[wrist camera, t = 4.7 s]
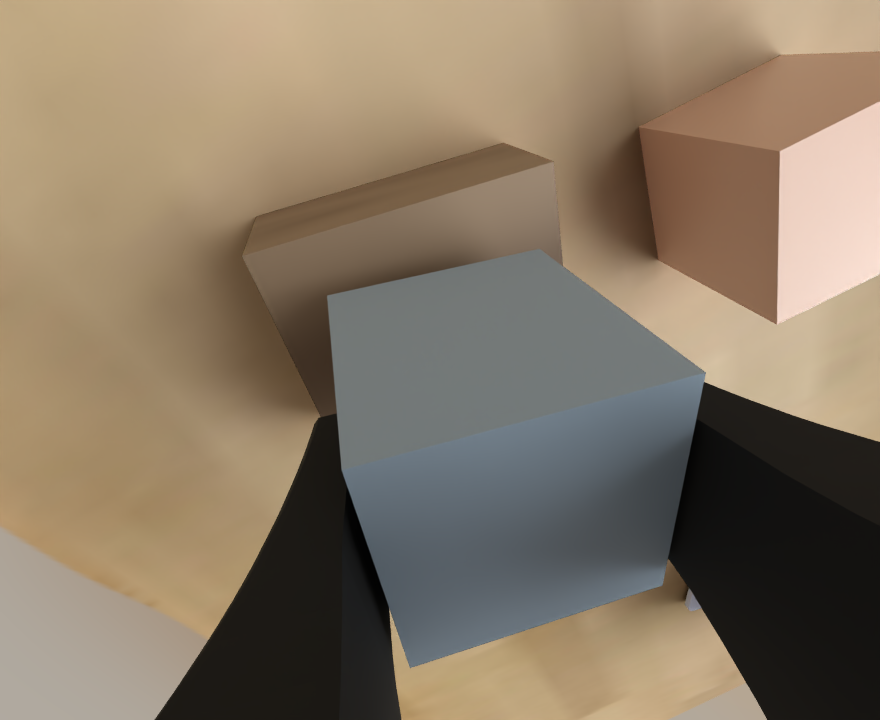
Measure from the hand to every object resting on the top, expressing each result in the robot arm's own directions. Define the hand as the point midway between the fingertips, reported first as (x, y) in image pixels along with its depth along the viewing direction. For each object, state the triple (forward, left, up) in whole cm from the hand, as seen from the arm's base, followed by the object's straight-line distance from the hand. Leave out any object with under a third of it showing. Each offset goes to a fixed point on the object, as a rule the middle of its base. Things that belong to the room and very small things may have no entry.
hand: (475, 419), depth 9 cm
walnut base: (0, 0, -7) cm, 7 cm away
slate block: (0, 0, -2) cm, 2 cm away
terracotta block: (+2, -10, -6) cm, 12 cm away
